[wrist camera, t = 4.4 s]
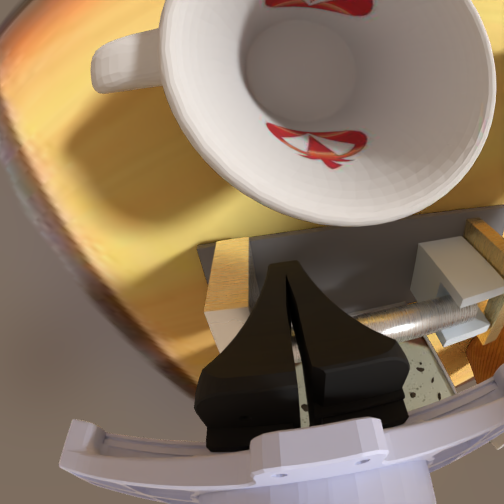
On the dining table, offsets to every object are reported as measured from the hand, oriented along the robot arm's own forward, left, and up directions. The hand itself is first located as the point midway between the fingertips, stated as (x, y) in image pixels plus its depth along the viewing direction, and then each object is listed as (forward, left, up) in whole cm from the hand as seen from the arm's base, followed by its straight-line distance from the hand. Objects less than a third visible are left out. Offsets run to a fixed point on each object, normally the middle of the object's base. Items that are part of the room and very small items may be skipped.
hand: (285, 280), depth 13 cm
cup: (-9, +1, -3) cm, 10 cm away
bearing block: (+3, +10, -3) cm, 11 cm away
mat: (+3, +6, -3) cm, 7 cm away
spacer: (+3, +13, 0) cm, 13 cm away
